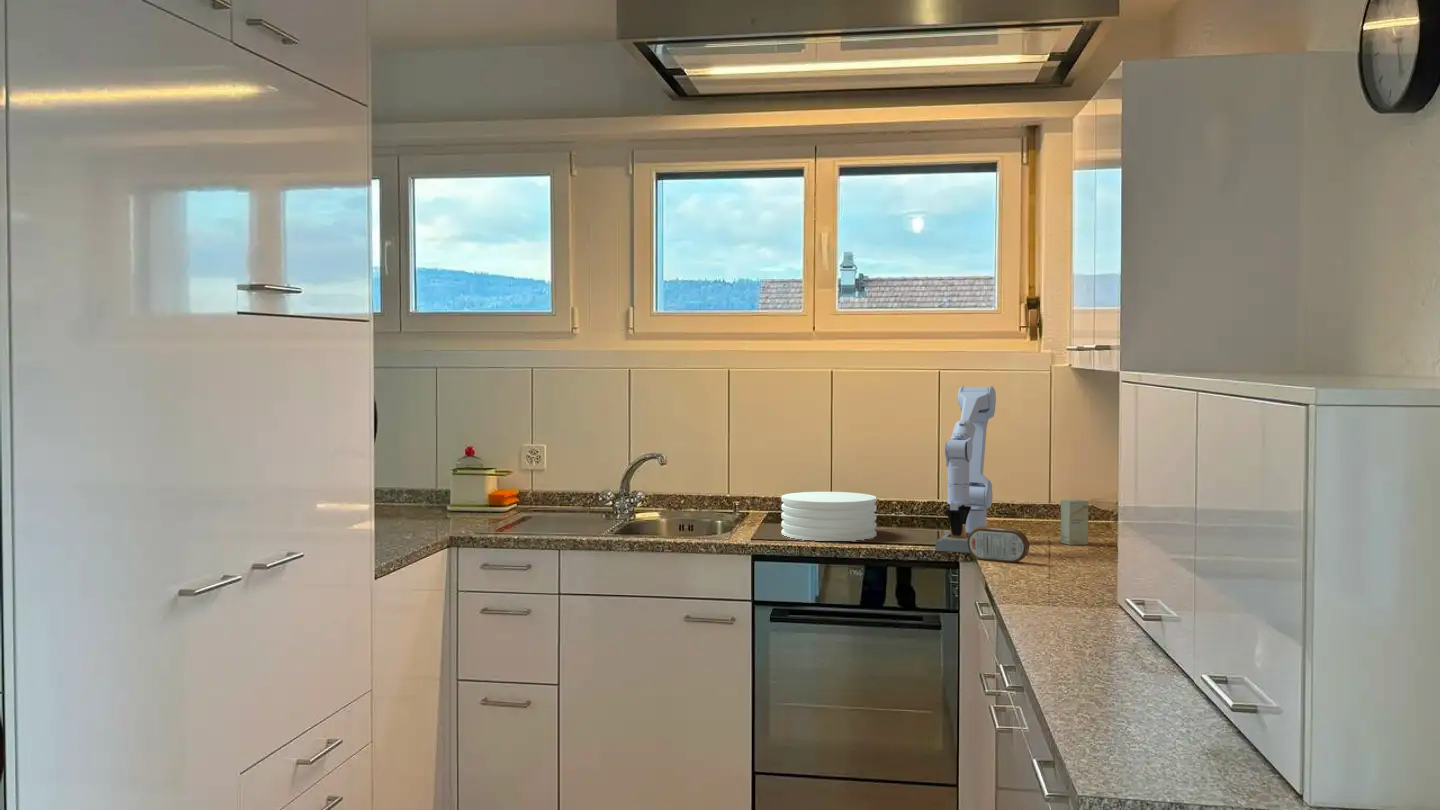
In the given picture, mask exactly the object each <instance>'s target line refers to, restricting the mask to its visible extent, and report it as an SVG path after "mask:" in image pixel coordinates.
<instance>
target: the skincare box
mask: <svg viewBox="0 0 1440 810" xmlns="http://www.w3.org/2000/svg"><path fill="white" fill-rule="evenodd" d="M1060 543H1061V544H1063V545H1070V546H1072V545H1073V546H1076V545H1077V546H1078V545H1089V500H1083V499H1061V500H1060Z"/></svg>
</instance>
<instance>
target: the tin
mask: <svg viewBox="0 0 1440 810" xmlns="http://www.w3.org/2000/svg"><path fill="white" fill-rule="evenodd" d="M967 545H968V549H969V551H970V553H969V554H971V555H972V556H973V557H974V558H975V559H978V560H981V561H988V562H989V561H990V562H1002V563H1011V564H1012V563H1013V564H1014V563H1018V562H1020V561H1022V560H1023V559H1025V558H1026V557H1027V555H1028V553H1029V550H1030V543H1029V540H1028V537H1027V536H1026V534H1024V532H1022V531H1021V530H1019V529H1016V528H1009V527H998V526H997V527H996V526H988V525H986V526H981V527H978V528H976V529H974V530H973V531H972V532H971V533H970V535H969V537H968V540H967Z"/></svg>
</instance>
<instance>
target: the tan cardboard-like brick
mask: <svg viewBox="0 0 1440 810" xmlns="http://www.w3.org/2000/svg"><path fill="white" fill-rule="evenodd" d="M949 529H950V530H949V531H951V526H950V527H949ZM951 537H952V538H967V535H966V528H965V524H963V527H962V533H961V536H955V535H952V531H951Z"/></svg>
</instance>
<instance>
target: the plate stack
mask: <svg viewBox="0 0 1440 810" xmlns="http://www.w3.org/2000/svg"><path fill="white" fill-rule="evenodd" d="M780 498H781V502H782V503H781V510H782V512H781V517H780V518H781V519H782V521H781V524H780V525H781V527H782V529H781V530H780V531H781V534H782V535H784V536H787V537H790V538H789V539H791V538H795V539H794V540H796V539H802V540H801V541H804V540H815V541H852V542H857V541H856V540H862V541H865V540H864V539H869V538H872V539H874V538H873V537H875V536H876V537H877V531H876V530H877V522H875V521H877V514H876V512H877V505H876V503H877V496H876V495H872V494H869V493H868V494H867V493H861V492H860V493H859V492H848V491H847V492H846V491H802V492H792V493H791V492H790V493H785V494H782V495H781V497H780ZM782 535H781V536H782ZM784 536H783V537H784ZM787 537H786V538H787ZM876 537H875V538H876ZM869 540H870V539H869ZM815 541H814V542H815Z"/></svg>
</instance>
